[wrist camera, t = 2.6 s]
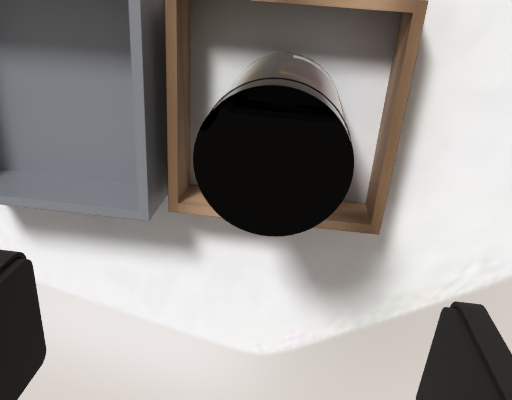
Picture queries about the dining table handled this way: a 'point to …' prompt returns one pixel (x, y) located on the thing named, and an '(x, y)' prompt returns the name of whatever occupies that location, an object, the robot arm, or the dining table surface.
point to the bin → (83, 106)
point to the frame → (370, 214)
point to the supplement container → (276, 148)
